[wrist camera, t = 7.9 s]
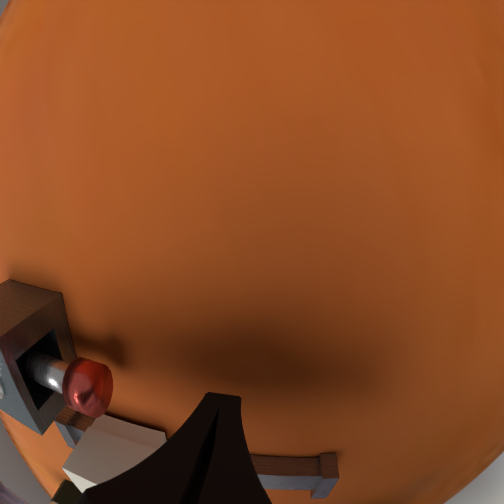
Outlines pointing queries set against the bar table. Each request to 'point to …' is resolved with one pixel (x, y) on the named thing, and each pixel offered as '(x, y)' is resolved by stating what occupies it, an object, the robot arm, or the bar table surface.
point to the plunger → (74, 381)
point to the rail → (267, 467)
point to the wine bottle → (66, 493)
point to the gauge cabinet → (26, 341)
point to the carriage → (110, 451)
